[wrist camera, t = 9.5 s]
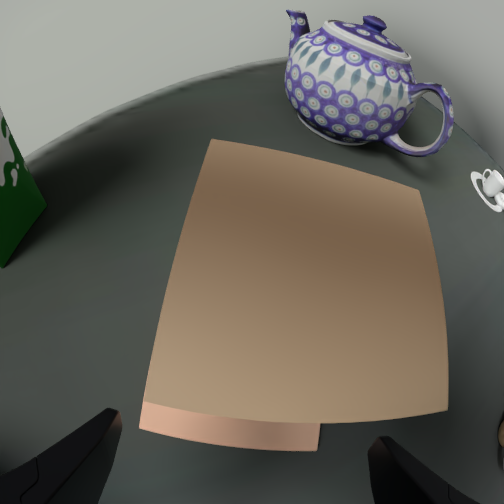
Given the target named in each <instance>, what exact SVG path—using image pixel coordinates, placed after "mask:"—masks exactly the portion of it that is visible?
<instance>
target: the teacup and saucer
mask: <svg viewBox="0 0 504 504" xmlns="http://www.w3.org/2000/svg"><path fill="white" fill-rule="evenodd" d="M486 171H489V172H490V175H489V177H488V178H487V179H486V178H485V177H484V174H485V172H486ZM477 178H479V179H482V184H483V190H484V192H485V194H486V195H487V196H488V197H493V196H494V200H495V202H496V203H497V205H496V206H494V205H492V204H490V203H489V202H488V201H487V200H486V199H485V198H484V196H483V195H482V194H481V192H480V190H479V189H478V186H477V184H476V179H477ZM471 180H472V183H473V185H474V187H475V189H476V190H477V192H478V194H479V195H480V196H481V198H482V199H483V200H484V202H485V203H486V204H487V205H488V206H489V207H490V208H491V209H493V210H494V211H496V212H501V211H502V209H503V210H504V194H503V193H501V192H500V191H501V190H502V189H503V188H504V179H503V177H502V176H501V175H500V174H499V173H498V172H497V171H496V170H493V172H492V171H491V170H489V169H486V170H485V171H484V172H483V175H481V174H480V173H478V172H472V173H471ZM484 182H485V183H484Z"/></svg>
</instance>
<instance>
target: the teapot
mask: <svg viewBox="0 0 504 504" xmlns="http://www.w3.org/2000/svg"><path fill="white" fill-rule="evenodd" d="M286 12H287V13H288V15H289V17H290V20H291V36H290V46H289V59H288V63H287V66H286V71H285V89H286V94H287V96H288V99H289V101H290V102H291V104H292V105H293V107H294V108H295V110H296V111H297V114H298V117H299V119H300V120H301V121H302V123H303V124H305V125H306V126H307V127H308V128H309V129H310V130H312V131H313V132H315V133H316V134H318V135H320V136H321V137H323V138H325V139H327V140H329V141H332V142H334V143H338V144H343V145H362V144H365V143H367V142H381V143H383V144H385V145H387V146H389V147H391V148H393V149H395V150H397V151H399V152H401V153H403V154H406V155H409V156H414V157H426V156H430V155H433V154H435V153H436V152H438V151H439V150H440V149H441V148H442V147H443V146H444V145H445V144H446V142H447V141H448V139H449V137H450V136H451V133H452V129H453V120H454V118H453V107H452V103H451V99H450V96H449V94H448V93H447V91H446V90H445V89H444V87H443V86H442V85H439V84H436V83H418V84H417V82H416V80H415V78H414V74H413V71H412V68H411V66H410V61H411V56H410V55H409V54H408V53H407V52H406V51H405V50H403V49H402V48H401V47H399V46H398V45H397V44H395V43H394V42H393V41H391V40H390V39H389V38H387V37H386V36H384V35H382V33H381V32H382V31H383V30H385V29H386V28H387V27H386V24H385V23H384V21H382V20H381V19H380V18H377V17H375V16H363V21H364V23H363V25H358V24H352V23H347V22H342V21H337V20H327V21H325V23H324V26H323V27H321V28H320V29H318V30H316V31H314V32H310V29H309V24H308V19H307V16H306V14H305V13H304V12H303V11H293V10H286ZM430 91H431V92H434V93H435V94H436V95H437V96H438V97H439V98H440V100H441V103H442V107H443V115H444V119H443V127H442V131H441V133H440V135H439V137H438V138H437V140H436V141H435V142H434V143H432V144H431V145H429V146H426V147H413V146H410V145H408V144H406V143H404V142H403V141H402V140H401V139H400V137H399V135H398V130H399V129H400V128H401V127H402V126H403V125H404V123H405V122H406V120H407V119H408V117H409V116H410V115H411V113H412V111H413V110H414V107H415V104H416V100H418V99H419V98H420V97H421V96H422V95H423V94H424V93H426V92H430Z"/></svg>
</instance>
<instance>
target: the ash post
mask: <svg viewBox="0 0 504 504" xmlns="http://www.w3.org/2000/svg"><path fill="white" fill-rule="evenodd" d="M144 401H145V402H149V403H153V404H157V405H161V406H166V407H170V408H175V409H180V410H185V411H190V412H196V413H202V414H208V415H214V416H221V417H229V418H237V419H246V420H256V421H269V422H286V423H350V422H366V421H378V420H388V419H397V418H405V417H412V416H418V415H424V414H430V413H435V412H441V411H445V410H448V347H447V332H446V321H445V312H444V303H443V296H442V289H441V283H440V277H439V271H438V265H437V260H436V255H435V250H434V246H433V241H432V237H431V233H430V229H429V225H428V221H427V217H426V213H425V210H424V206H423V203H422V199H421V196H420V193H419V190H416V189H414V188H411V187H408V186H405V185H402V184H399V183H396V182H393V181H390V180H387V179H384V178H381V177H378V176H374V175H371V174H368V173H365V172H361V171H358V170H354V169H351V168H347V167H344V166H340V165H336V164H332V163H329V162H325V161H321V160H317V159H313V158H309V157H304V156H300V155H296V154H291V153H287V152H282V151H277V150H272V149H267V148H262V147H257V146H252V145H246V144H240V143H235V142H228V141H222V140H216V139H211V142H210V145H209V147H208V150H207V153H206V156H205V159H204V162H203V165H202V168H201V171H200V174H199V177H198V180H197V183H196V186H195V189H194V193H193V196H192V199H191V202H190V205H189V209H188V212H187V215H186V219H185V222H184V226H183V229H182V233H181V236H180V240H179V243H178V247H177V251H176V254H175V258H174V262H173V266H172V269H171V273H170V277H169V281H168V285H167V289H166V293H165V298H164V302H163V306H162V311H161V315H160V319H159V324H158V329H157V333H156V338H155V343H154V348H153V353H152V358H151V363H150V369H149V374H148V380H147V385H146V391H145V397H144Z"/></svg>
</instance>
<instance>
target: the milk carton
mask: <svg viewBox="0 0 504 504" xmlns="http://www.w3.org/2000/svg"><path fill="white" fill-rule="evenodd" d="M46 207H47V204H46V202H45V200H44V198H43V197H42V195H41V193H40V191H39V189H38V187H37V185H36V183H35V181H34V179H33V177H32V175H31V173H30V171H29V169H28V167H27V165H26V163H25V161H24V159H23V157H22V155H21V153H20V151H19V149H18V147H17V145H16V143H15V141H14V138H13V136H12V134H11V132H10V130H9V127H8V125H7V123H6V120H5V118H4V116H3V113H2V111H1V108H0V267H1V268H3V267H4V266H5V264H6V262H7V261H8V259H9V258H10V256H11V255H12V253H13V252H14V250H15V249H16V247H17V246H18V244H19V243H20V241H21V240H22V238H23V237H24V236H25V234H26V233H27V231H28V230H29V229H30V227H31V226H32V225H33V223H34V222H35V221H36V219H37V218H38V217H39V215H40V214H41V213H42V212H43V210H44V209H45V208H46Z"/></svg>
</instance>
